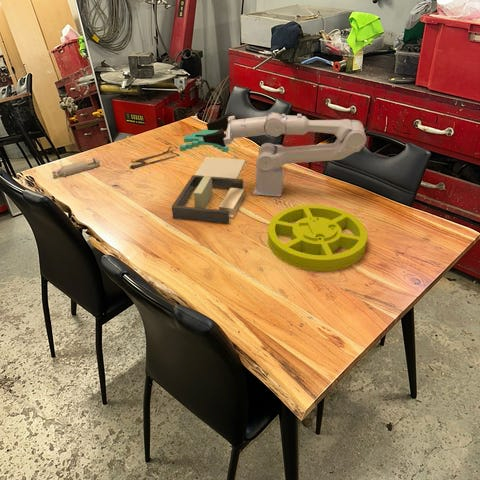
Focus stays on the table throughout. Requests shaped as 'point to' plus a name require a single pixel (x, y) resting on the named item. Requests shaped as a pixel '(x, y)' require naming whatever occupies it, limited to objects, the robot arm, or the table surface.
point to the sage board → (203, 192)
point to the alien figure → (200, 140)
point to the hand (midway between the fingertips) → (205, 132)
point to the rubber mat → (220, 167)
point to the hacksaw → (152, 157)
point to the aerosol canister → (76, 168)
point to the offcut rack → (202, 213)
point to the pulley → (317, 237)
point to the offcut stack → (232, 201)
